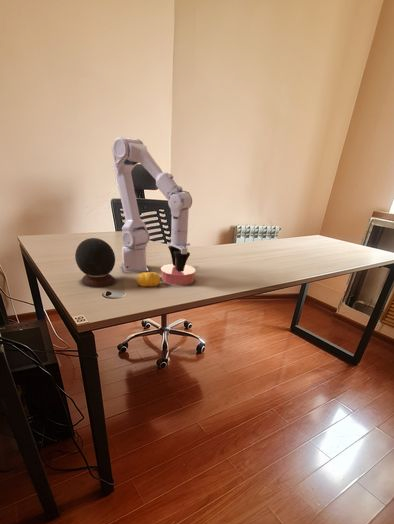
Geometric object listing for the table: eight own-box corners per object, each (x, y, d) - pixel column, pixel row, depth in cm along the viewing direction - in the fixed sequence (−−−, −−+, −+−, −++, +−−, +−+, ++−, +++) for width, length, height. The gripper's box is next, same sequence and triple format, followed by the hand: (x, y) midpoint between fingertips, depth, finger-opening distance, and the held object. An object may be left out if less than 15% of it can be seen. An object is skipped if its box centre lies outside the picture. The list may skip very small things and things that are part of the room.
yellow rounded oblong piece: (138, 289, 106) (137, 276, 103) (136, 283, 110) (135, 270, 107) (163, 288, 109) (163, 275, 106) (160, 282, 113) (160, 269, 110)
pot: (165, 287, 109) (166, 276, 107) (158, 275, 119) (158, 265, 117) (197, 285, 113) (198, 275, 111) (188, 274, 123) (188, 264, 121)
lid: (165, 278, 107) (165, 261, 104) (157, 267, 117) (157, 251, 114) (199, 277, 111) (201, 260, 108) (189, 266, 121) (190, 250, 118)
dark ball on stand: (119, 286, 107) (116, 243, 99) (79, 289, 102) (72, 243, 94) (114, 274, 117) (111, 233, 109) (78, 276, 113) (72, 234, 105)
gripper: (196, 234, 102) (194, 274, 109) (184, 225, 113) (183, 262, 120) (176, 234, 99) (175, 275, 107) (166, 225, 111) (165, 262, 118)
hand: (178, 268), depth 113 cm, fingers open, 6 cm apart
